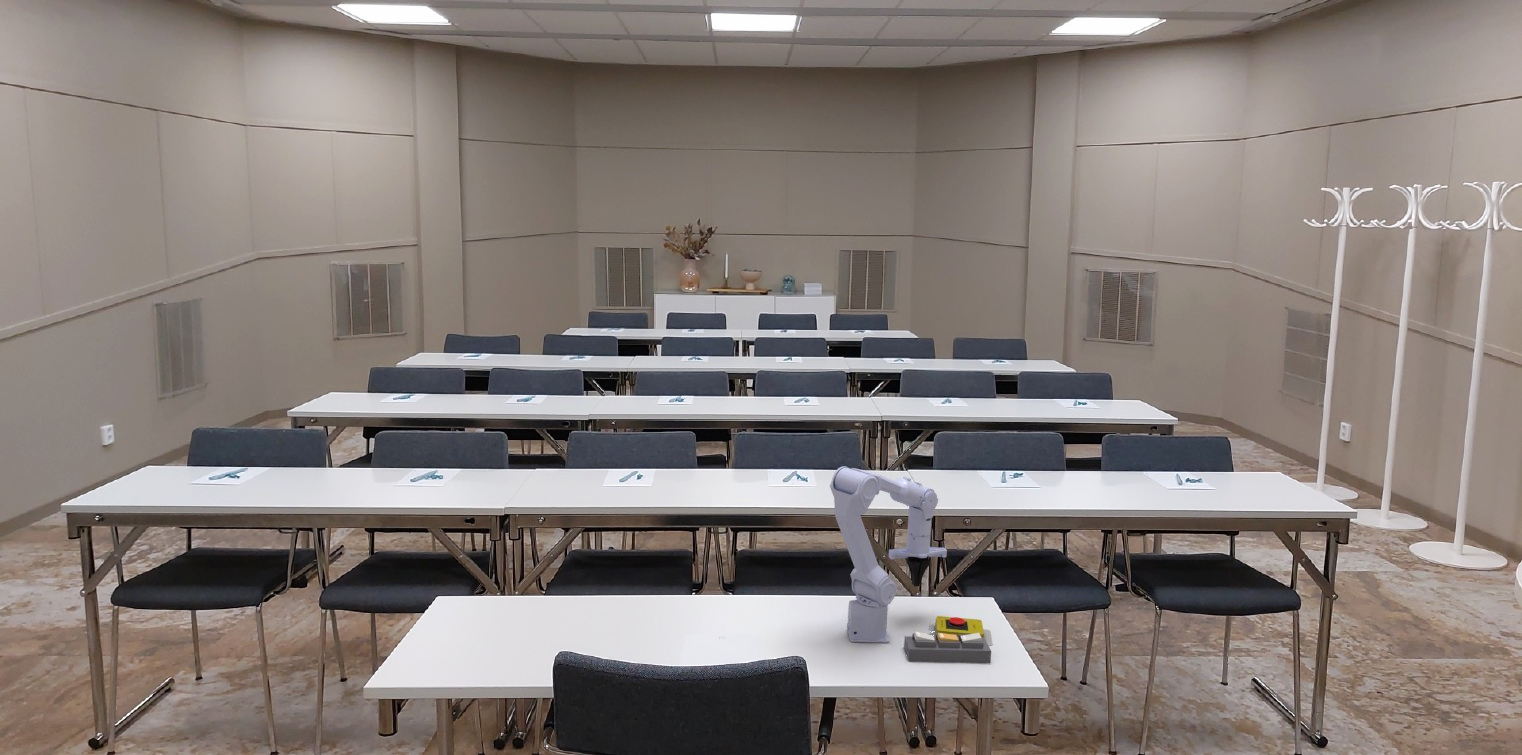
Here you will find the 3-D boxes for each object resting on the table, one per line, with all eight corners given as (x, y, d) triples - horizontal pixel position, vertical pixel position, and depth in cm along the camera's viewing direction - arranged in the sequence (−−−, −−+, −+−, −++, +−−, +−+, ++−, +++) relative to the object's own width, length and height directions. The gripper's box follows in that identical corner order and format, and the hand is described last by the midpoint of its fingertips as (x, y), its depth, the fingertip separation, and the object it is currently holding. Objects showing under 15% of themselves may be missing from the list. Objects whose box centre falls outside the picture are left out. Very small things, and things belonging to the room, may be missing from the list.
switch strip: (908, 661, 246) (909, 644, 245) (903, 648, 253) (904, 631, 252) (990, 663, 246) (991, 645, 246) (983, 649, 253) (984, 632, 252)
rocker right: (963, 645, 248) (962, 640, 248) (960, 639, 250) (960, 635, 250) (982, 641, 248) (981, 637, 247) (979, 636, 250) (978, 632, 250)
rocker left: (915, 640, 247) (916, 636, 247) (913, 635, 250) (914, 631, 250) (933, 644, 248) (935, 640, 247) (931, 639, 250) (932, 635, 250)
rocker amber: (939, 641, 247) (940, 637, 247) (937, 636, 250) (937, 632, 250) (957, 644, 248) (958, 639, 247) (955, 638, 250) (956, 634, 250)
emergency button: (930, 610, 266) (991, 615, 264) (929, 626, 267) (990, 632, 265) (930, 625, 257) (994, 631, 255) (929, 642, 258) (992, 648, 256)
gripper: (896, 539, 260) (893, 592, 262) (952, 537, 262) (948, 589, 265) (887, 530, 266) (884, 581, 269) (942, 528, 269) (938, 579, 272)
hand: (915, 584), depth 267 cm, fingers closed
